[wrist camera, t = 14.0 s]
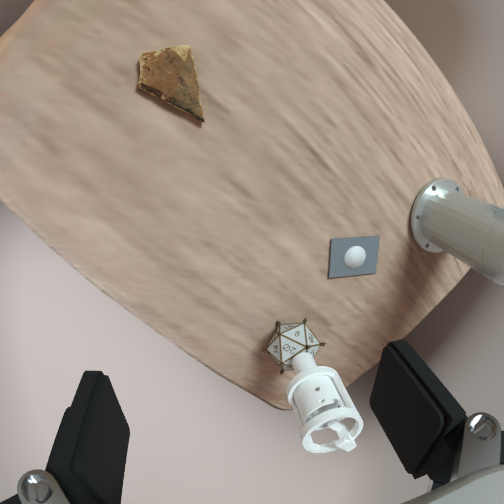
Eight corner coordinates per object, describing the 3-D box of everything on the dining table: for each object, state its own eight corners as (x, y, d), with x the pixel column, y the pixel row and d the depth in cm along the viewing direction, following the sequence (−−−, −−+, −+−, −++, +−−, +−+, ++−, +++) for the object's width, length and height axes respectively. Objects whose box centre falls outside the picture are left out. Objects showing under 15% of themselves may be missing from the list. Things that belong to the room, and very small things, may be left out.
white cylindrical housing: (299, 385, 45) (329, 465, 31) (267, 365, 43) (291, 451, 29) (335, 356, 44) (377, 432, 30) (305, 332, 42) (345, 414, 28)
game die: (272, 326, 54) (242, 361, 46) (297, 295, 49) (267, 331, 41) (312, 358, 53) (288, 398, 45) (342, 330, 48) (320, 373, 40)
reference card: (378, 235, 47) (379, 236, 47) (374, 271, 49) (375, 273, 49) (330, 239, 46) (332, 240, 46) (328, 276, 48) (329, 278, 48)
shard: (204, 122, 39) (204, 122, 37) (146, 135, 38) (144, 135, 36) (191, 45, 35) (191, 42, 33) (134, 58, 34) (131, 55, 32)
